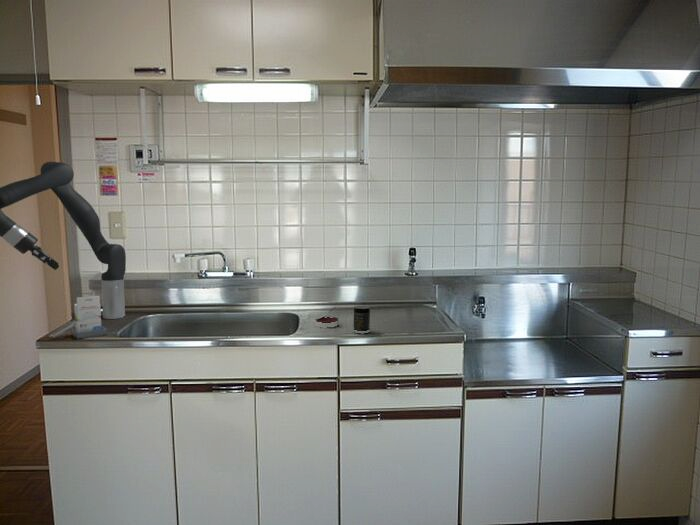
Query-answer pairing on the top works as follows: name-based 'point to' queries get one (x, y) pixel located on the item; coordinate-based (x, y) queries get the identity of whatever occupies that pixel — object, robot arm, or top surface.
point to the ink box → (87, 314)
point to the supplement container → (361, 318)
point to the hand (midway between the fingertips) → (57, 266)
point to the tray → (89, 333)
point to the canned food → (326, 320)
